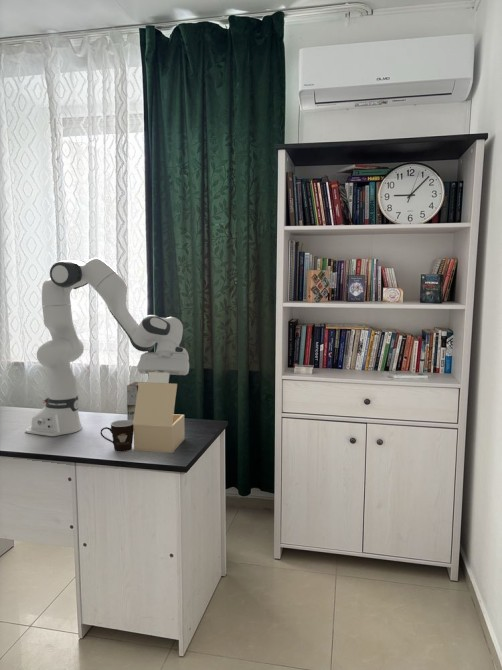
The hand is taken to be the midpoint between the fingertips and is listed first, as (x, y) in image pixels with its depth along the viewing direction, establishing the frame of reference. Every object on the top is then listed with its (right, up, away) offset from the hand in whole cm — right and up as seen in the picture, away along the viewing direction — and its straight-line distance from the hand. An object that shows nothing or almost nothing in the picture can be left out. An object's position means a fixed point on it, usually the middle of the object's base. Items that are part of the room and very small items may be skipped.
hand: (159, 382), depth 194 cm
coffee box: (-17, -20, +39) cm, 47 cm away
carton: (0, -24, +3) cm, 25 cm away
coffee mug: (-15, -25, -2) cm, 29 cm away
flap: (-1, -6, -3) cm, 7 cm away
